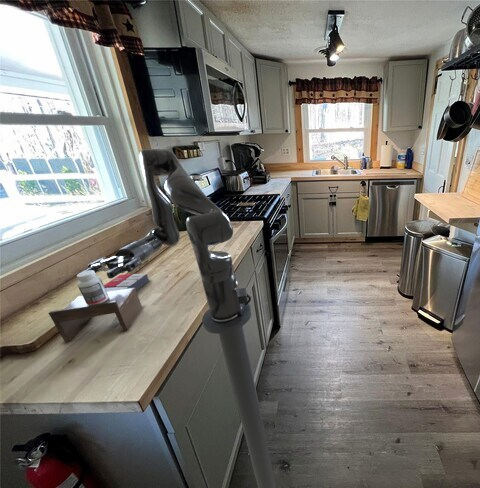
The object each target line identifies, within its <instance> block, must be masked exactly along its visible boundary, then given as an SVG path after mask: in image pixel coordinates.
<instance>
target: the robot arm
mask: <svg viewBox="0 0 480 488" xmlns="http://www.w3.org/2000/svg"><path fill="white" fill-rule="evenodd" d="M139 163H140V169H141V172H142V176H143V180H144V185H145V187H146V190H147V194H148V197H149V201H150V205H151V206H150V207H151V213H152V220H153V224H154V225H156V226H155V227H153V228H152V229H151V230H150V231H149V232H148V233H147V234H146V235H145V236H144V237H142V238H140V239H139V240H135V241H133V242H131V243H129V244H127V245H125V246H123V247H121V248H119V249H117V251H116V252H115V255H114V256H111V257H110V258H107V257H106V256H103V257H100V258H99V259H97V260H94V261H93V262H90V263H88V264H87V269H84V270H83V271H82V272H84V271H88V270H93V271H94V272H95V274H97V273H100V272H106V276H107V278H108V279H111V280H113V279H114V278H116V277H118V276H119V275H121V274H125V273H126V272H127V273H132V272H133V271H134V270H135V269H138V267H140V266H142V265H143V262H145V261H146V260H148V259H150V257H151V256H153V255H154V254H156V253H158V252H159V251H160V250H161V249H162V248H163V246H167V247H175V246H177V245H178V243H179V242H180V240H181V239H180V238H181V235H180V231H179V229H178V226H177V224H176V221H175V219H174V207H173V205H174V206H175V207H177V208H178V209H180V210H182V211H185V212H187V213H190V214H193V215H190V216H188V217H187V218H186V220H185V226H186V232H187V235H188V238H189V241H190V244H191V248H192V251H193V253H194V257H195V261H196V264H197V267H198V270H199V276H200V279H201V283H202V286H203V290H204V293H205V298H206V301H207V306H208V310H209V309H210V314H211V318H212V320H213V321H214V322H217V323H226V322H230V321H232V320H234V319H236V318H237V317H241V316H242V304H243V303H245V304H244V305H245V306H246V305H247V304H249V303H250V302H251V301H252V297H251V296H250V295H249V293H248V289H247V287H242V288H241V287H240V286H239V283H238V281H237V279H236V274H235V268H234V264H233V258H232V256H231V254H230V253H229V252H226V251H222V250H220V251H219V250H209V247H213V246H216V245H220V244H223V243H225V242H228V241H230V240H231V238H233V236H234V229H233V224H232V222H231V220H230V219H229V217H228V216H227V214H226V213H224V211H223V210H222V209H221V208H220V207H218V206H217V205H216V204H215V203H214V202H213V201H212V200H211V199H210V198H209V197H208V196H207V195H206V194H205V193H204V192H203V190H202V189H201V187H200V186H199V185H198V184H197V183H196V181H195V180H194V179H193V178H192V177H191V176H190V174H189V173H188V172H187V171H186V170H185V168H184V167H183V165H182V164H181V162H180V160H179V159H178V157H177V156H176V154H175V153H174V152H173V151H172V150H170V149H165V148H143V149H141V150H140V152H139ZM155 177H166V179H165V182H164V185H163V186H164V192H165V193H164V192H163V191H162V190H161V189H160V187H159V186H158V184H157V182H156V178H155ZM166 195H167V196H166ZM239 287H240V288H239Z"/></svg>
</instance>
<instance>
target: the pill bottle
mask: <svg viewBox="0 0 480 488" xmlns="http://www.w3.org/2000/svg"><path fill="white" fill-rule="evenodd" d="M83 271H84V270H83ZM83 271H81V272H79V273H78V274H77V275H76V278H77V280H78V282H77V287H78V289H79V291H80V294H81V296H83V298H84V300H85V302H86V304H87V305H93V304H99V303H103V302H105V301H106V300H107V299H108V298H109V296H108V294H107V292H106V289H105V287H104V285H105V284H104V282H103V280H102V278H101V277H100V276H99V275H97V273H95V272H94V271H93V270H88V271H84V272H83Z"/></svg>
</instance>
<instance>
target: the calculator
mask: <svg viewBox="0 0 480 488" xmlns="http://www.w3.org/2000/svg"><path fill="white" fill-rule="evenodd" d="M149 281H150V279H149V276H148V274H146V273H133V274H131V273H128V274H127V273H126V274H118V275H117V276H115V277H114V278H112V279H111V280H109V281H108V282H106V283H105V284H103V285H104V287H105V289H106V292H110V291H116V290H122V289H129V288H135V290H136V291H138V290H139V289H140V288H142V287H143V286H145V285H146V283H148V282H149Z"/></svg>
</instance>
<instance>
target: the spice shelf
mask: <svg viewBox="0 0 480 488" xmlns="http://www.w3.org/2000/svg"><path fill="white" fill-rule="evenodd" d="M107 294H108V296H109V298H108V299H107V300H106V301H105V302H103V303H99V304H93V305H87V304H86V302H85V300H84V298H83V296H82V295H78V296H76V298H74V299H73V300H72V301H71V302H70V303H69V304H68V305H67V306H66V307H64V308H63V309H57V310H51V311H49V312H48V316H49V317H50V319H51V321H52V322H53V324H54V326H55V328H56V329H57V331H58V333H59V335H60V336H61V338H62V340H63V342H64V343H68V342H70V341H71V340H72V339H73V338H74V337H75V336H76V335H77V334H78V332H80V330H81V329H82V328H83V327H84V326H85V325H86V323H87V322H88V321H89V320H90V319H91V318H94V317H100V316H105V315H112V314H115V316H116V318H117V321H118V323H119V325H120V328H121V329H122V332H127V331H129V329H130V328H131V326H132V324H133V323H134V321H135V319H136V318H137V316H138V315H139V313H140V312H141V310H142V308H143V305H142V303H141V301H140V298H139V295H138V293H137V290H135V288H129V289H122V290H116V291H110V292H107Z"/></svg>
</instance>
